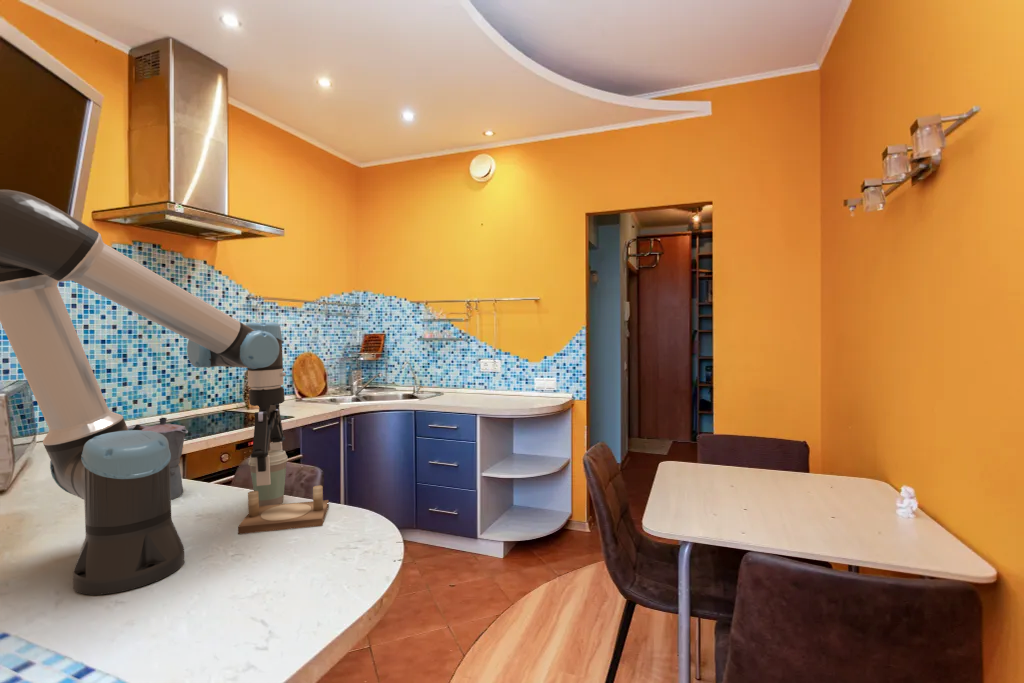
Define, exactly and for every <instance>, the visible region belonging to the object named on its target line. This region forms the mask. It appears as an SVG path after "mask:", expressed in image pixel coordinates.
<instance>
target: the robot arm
mask: <svg viewBox="0 0 1024 683" xmlns="http://www.w3.org/2000/svg"><path fill="white" fill-rule="evenodd" d="M70 281H71V282H74V283H77V284H79V286H82V287H84V288H86V289H88V290H90V291H92V292H94V293H96V294H98V295H100V296H102V297H104V298H106V299H108V300H110V301H112V302H114V303H116V304H118V305H120V306H121V307H124V308H126V309H128V310H129V311H131V312H134V313H136V314H138V315H140V316H141V317H144V318H146V319H147V320H150V321H152V322H153V323H155V324H158V325H159V326H162V327H163V328H165V329H167V330H169V331H171V332H173V333H175V334H178V335H180V336H181V337H182V338H183V337H184V338H186V339H187V340H188V341H187V344H186V346H187V347H186V352H187V358H188V360H189V362H190V364H191V365H192V366H193V367H195V368H197V369H198V368H200V369H201V368H208V369H209V368H215V367H227V368H244V369H245V368H247V383H248V385H247V386H248V388H250V389H249V391H248V400H249V402H248V403H249V405H250V406H252V407H253V406H254V407H256V406H257V407H258V411H257V412H254V430H253V442H252V453H250V456H251V458H255V459H256V479H257V486H262V485H270V484H271V480H270V459H269V455H268V450H283V442H285V441H286V436H285V435H284V430H283V424H282V419H281V418H282V417H281V411H280V404H282V403H284V402H285V401H286V400H285V388H284V387H283V386H282V385H284V377H286V376H287V373H286V372H283V371H284V368H283V367H284V362H283V360H284V359H283V358H284V357H283V341H284V339H283V336H282V334H283V333H282V330H281V328H282V327H281V325H280V323H278V322H274V321H268V322H267V321H266V322H260V321H259V322H247V323H246V324H244V323H242V322H240V321H239V320H238V319H235V318H234V317H232V316H231V315H228V314H227V313H225V312H223V311H221V310H219V309H218V308H216V307H215V306H213V305H211V304H210V303H208V302H206V301H204V300H202V299H201V298H199V297H197V296H195V295H194V294H192V293H191V292H189V291H187V290H185V289H184V288H182V287H180V286H178V285H177V284H174V283H173V282H171V281H170V280H168V279H167V278H165V277H163V276H161V275H160V274H158V273H156V272H154V271H152V270H151V269H149V268H148V267H146V266H144V265H142V264H141V263H139V262H137V261H135V260H134V259H132V258H130V257H129V256H127V255H125V254H123V253H121V252H120V251H118V250H116V249H115V248H113V247H112V246H110V245H108V244H106V243H105V242H104V241H103V238H102V235H101V233H100V232H98V231H97V230H95V229H93V228H92V227H90V226H88V225H87V224H85V223H83V222H81V221H80V220H78V219H76V218H75V217H73V216H72V215H70V214H68V213H66V212H65V211H63V210H61V209H59V208H58V207H56V206H54V205H53V204H51V203H50V202H47V201H45V200H43V199H41V198H38V197H36V196H34V195H32V194H29V193H27V192H22V191H18V190H11V189H0V324H1V326H2V329H3V330H4V333H5V335H6V337H7V339H8V342H9V343H10V346H11V348H12V351H13V352H14V355H15V356H16V359H17V361H18V363H19V365H20V366H19V367H20V368H21V371H22V372H23V374H24V377H25V378H26V380H27V383H28V385H29V387H30V389H31V391H32V395H33V396H34V399H35V400H36V402H37V405H38V407H39V410H40V411H41V414H42V416H43V418H44V419H45V420H44V421H45V422H46V424H47V426H48V427H47V428H48V429H49V430H48V432H47V434H45V435H46V436H45V437H44V438H43V440H42V443H43V446H44V449H45V451H46V453H47V455H48V457H49V459H50V463H49V469H50V470H49V471H50V472H51V473H50V475H51V476H52V479H53V480H54V482H55V483H56V484H57V486H58V487H59V488H61V490H63V491H65V492H67V493H69V494H71V495H72V496H75V497H78V498H80V499H82V500H83V501H84V523H85V524H84V525H85V527H84V528H85V537H84V540H83V543H82V545H81V549H80V552H79V554H78V558H77V560H76V563H75V566H74V569H73V572H72V588H73V591H75V592H76V593H79V594H83V595H91V596H92V595H93V596H94V595H95V596H97V595H98V596H99V595H108V594H115V593H121V592H125V591H129V590H133V589H138V588H141V587H144V586H146V585H150V584H152V583H155V582H157V581H160V580H162V579H164V578H166V577H169V576H170V575H172V574H173V573H174V572H176V571H177V570H179V569H180V568H182V566H183V565H184V563H185V547H184V544H183V542H182V540H181V537H180V536H179V533H178V530H177V528H176V526H175V525H174V522H173V519H172V499H171V482H170V459H171V453H170V450H169V444H168V440H167V438H166V437H165V436H164V435H162V434H160V433H157V432H153V431H141V430H132V429H130V430H129V428H128V426H127V423H126V420H125V419H124V416H123V415H122V414H119V413H116V412H114V411H111V410H110V409H109V407H108V404H107V402H106V400H105V398H104V397H105V396H104V395H103V393H102V391H101V387H100V386H99V383H98V381H97V378H96V376H95V374H94V371H93V368H92V366H91V364H90V362H89V360H88V356H87V354H86V352H85V350H84V346H83V345H82V342H81V341H80V338H79V336H78V333H77V331H76V328H75V326H74V324H73V321H72V318H71V316H70V314H69V311H68V310H67V307H66V305H65V302H64V299H63V297H62V294H61V293H60V290H59V288H58V283H59V282H70Z"/></svg>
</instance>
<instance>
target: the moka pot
mask: <svg viewBox="0 0 1024 683" xmlns="http://www.w3.org/2000/svg"><path fill="white" fill-rule="evenodd" d="M167 419H168V418H167V417H160V418H159V419H158V420H159V424H155V425H151V426H150V425H141V424H135V426H134V427H133V428H132V429H131V430H141V431H153V432H157V433H160V434H162V435H164V436H165V437H166V438H167V440H168V444H169V450H170V453H171V459H170V482H171V500H174V499H177V498H180V497H181V496H182V495H183V494H184V487H183V480H182V473H181V472H182V471H181V465H180V459H181V457H182V454H183V450H184V449H183V448H184V440H185V436H186V434H188V433H189V431H188V429H187V428H186V426H185V425H182V424H181V425H180V424H172V423H171V424H170V423H167Z"/></svg>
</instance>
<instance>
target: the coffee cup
mask: <svg viewBox="0 0 1024 683" xmlns="http://www.w3.org/2000/svg"><path fill="white" fill-rule="evenodd" d="M268 455H269V459H270V480H271V484H270V485H262V486H257V479H256V459H255V458H251V455H250V456H249V459H248V463H247V465H248V466H249V470H250V475H251V482H252V488H253V490H252V491H258V495H259V506H267V505H278V504H284V503H283V502H284V497H285V496H284V494H285V483H286V474H287V461H289V458H288V455H287V453H286V450H283V449H282V450H270V449H268Z"/></svg>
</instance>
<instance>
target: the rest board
mask: <svg viewBox="0 0 1024 683" xmlns="http://www.w3.org/2000/svg"><path fill="white" fill-rule="evenodd" d="M323 489H324V488H323V485H314V486H313V487H312V501H303V502H292V503H291V502H290V503H281V504H278V505H267V506H259V495H258V491H254V490H252V491H249V492H247V503H248V505H247V508H248V509H247V510H248V513H247V514H246V515H245V517H244V518H243V520H242V521H241V522H240V523H239V525H238V526H237V535H243V534H252V533H253V534H255V533H261V532H272V531H273V532H274V531H282V530H291V529H292V530H293V529H302V528H311V527H312V528H313V527H320V526H321V527H322V526H323V523H324V522H325V518H326V515H327V512H328V510H329V507H330V504H327V503H330V502H329V499H325V500H324V494H323V493H324V491H323Z"/></svg>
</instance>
